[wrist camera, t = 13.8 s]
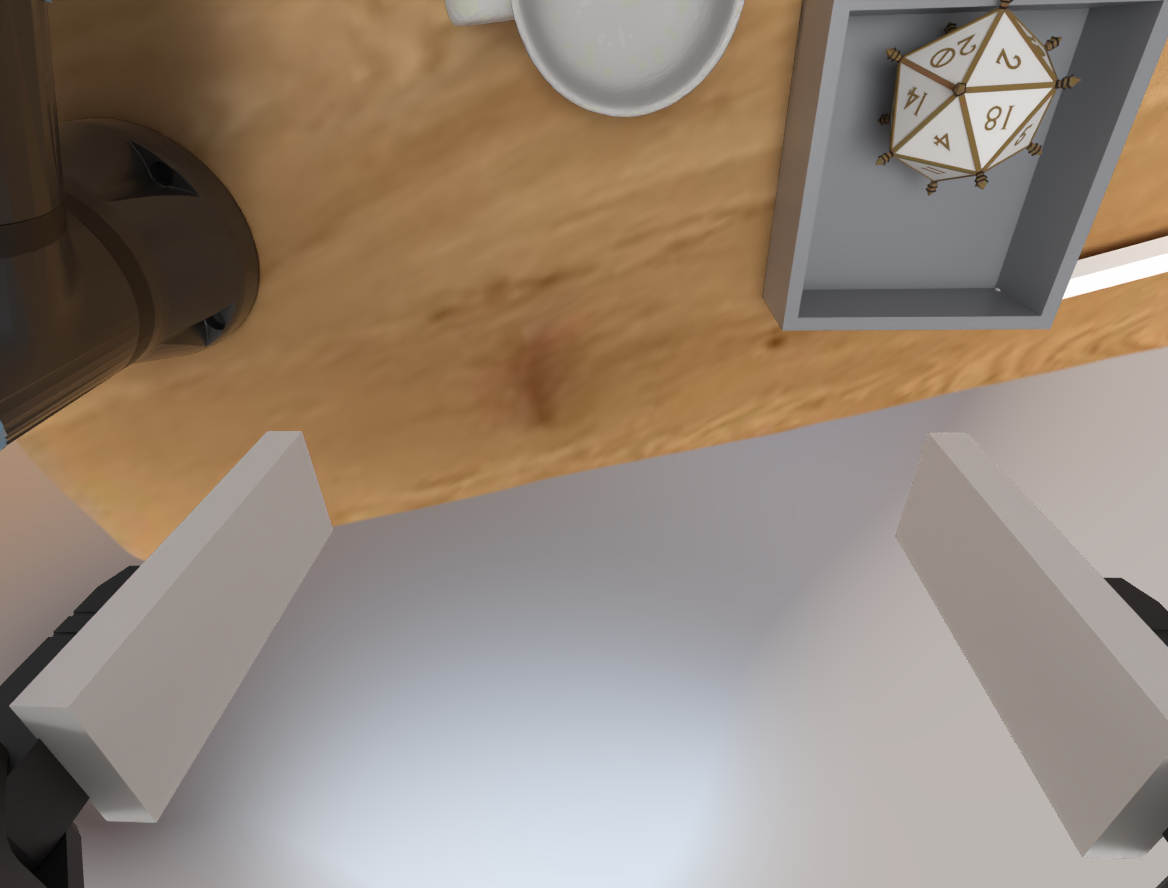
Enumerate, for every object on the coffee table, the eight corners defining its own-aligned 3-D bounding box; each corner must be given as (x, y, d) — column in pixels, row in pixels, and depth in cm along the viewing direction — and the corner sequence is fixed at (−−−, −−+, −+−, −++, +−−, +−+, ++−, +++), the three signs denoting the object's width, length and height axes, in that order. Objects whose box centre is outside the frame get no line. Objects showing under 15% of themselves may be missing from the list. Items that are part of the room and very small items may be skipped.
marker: (951, 296, 42) (1226, 221, 38) (959, 326, 42) (1234, 254, 38) (967, 289, 39) (1263, 208, 36) (975, 321, 39) (1271, 244, 36)
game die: (877, 201, 39) (843, 198, 31) (892, 45, 36) (859, -1, 28) (1053, 188, 34) (1066, 182, 26) (1086, 7, 31) (1111, -60, 23)
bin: (762, 297, 42) (782, 330, 37) (802, 0, 33) (835, -11, 28) (997, 295, 41) (1049, 329, 36) (1101, -10, 32) (1191, -23, 27)
